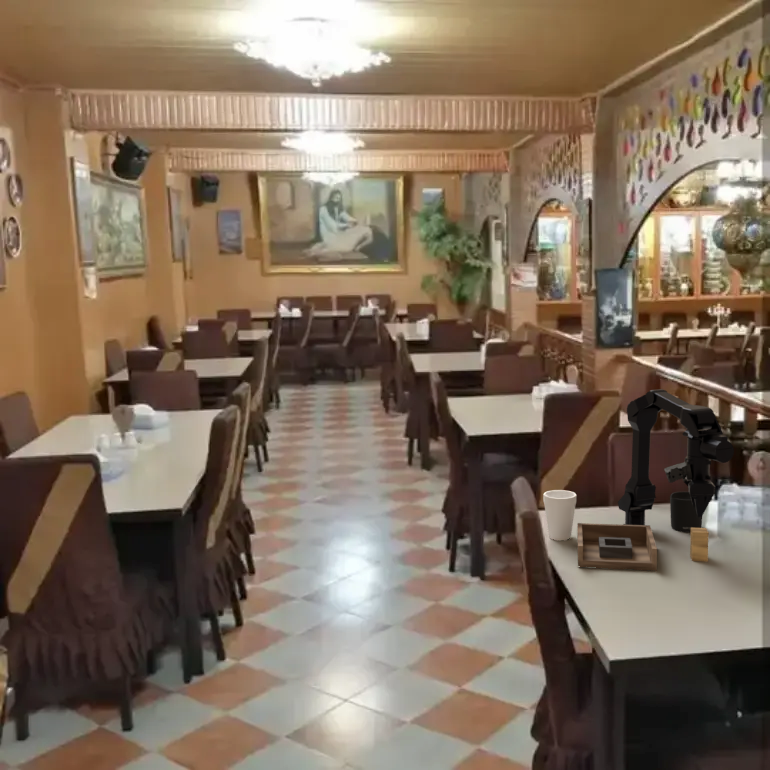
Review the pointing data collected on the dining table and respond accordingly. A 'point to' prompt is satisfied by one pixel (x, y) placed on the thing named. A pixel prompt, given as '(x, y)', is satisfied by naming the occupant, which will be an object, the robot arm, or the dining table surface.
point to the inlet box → (616, 546)
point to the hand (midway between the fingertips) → (697, 511)
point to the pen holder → (683, 512)
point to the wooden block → (699, 544)
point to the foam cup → (559, 513)
